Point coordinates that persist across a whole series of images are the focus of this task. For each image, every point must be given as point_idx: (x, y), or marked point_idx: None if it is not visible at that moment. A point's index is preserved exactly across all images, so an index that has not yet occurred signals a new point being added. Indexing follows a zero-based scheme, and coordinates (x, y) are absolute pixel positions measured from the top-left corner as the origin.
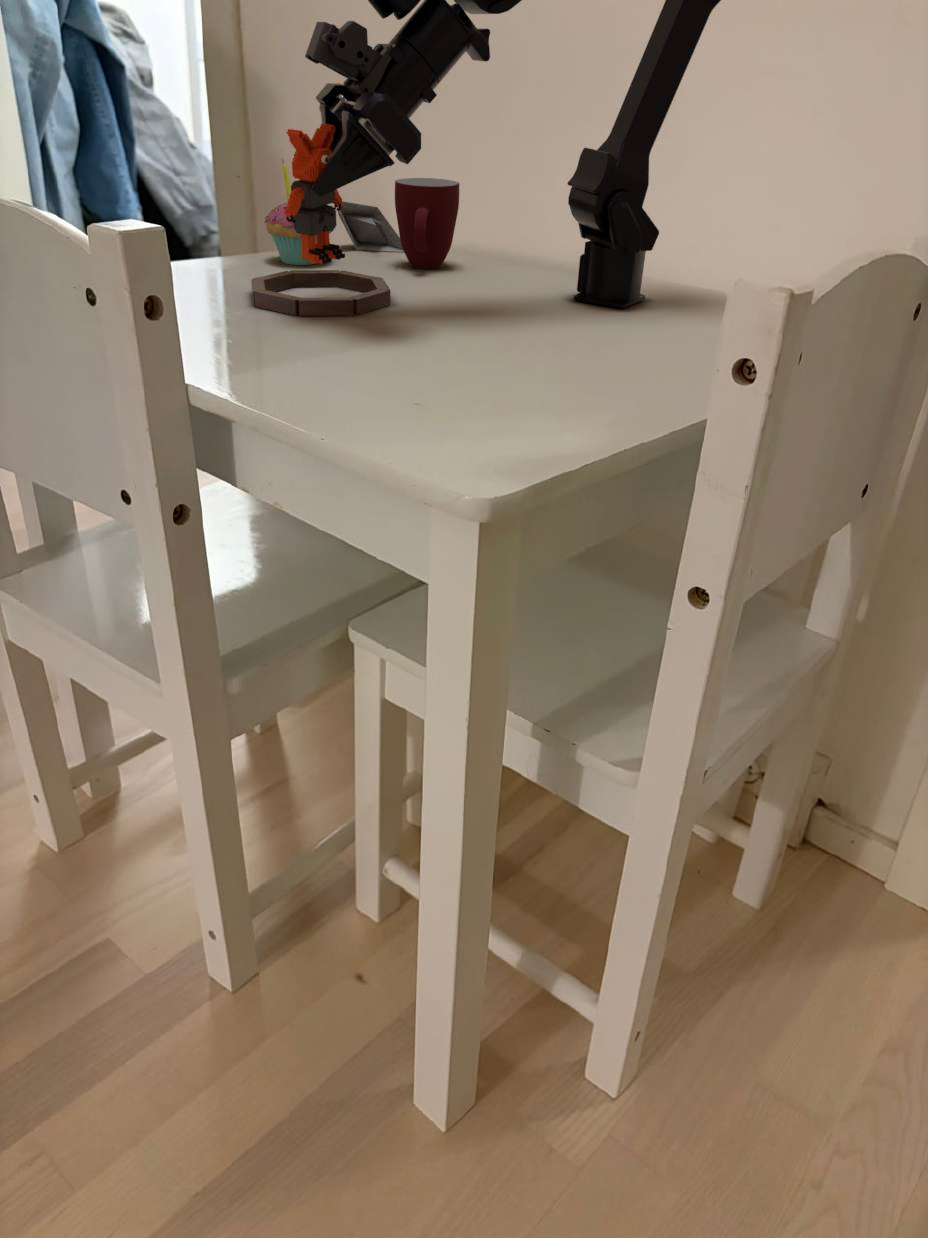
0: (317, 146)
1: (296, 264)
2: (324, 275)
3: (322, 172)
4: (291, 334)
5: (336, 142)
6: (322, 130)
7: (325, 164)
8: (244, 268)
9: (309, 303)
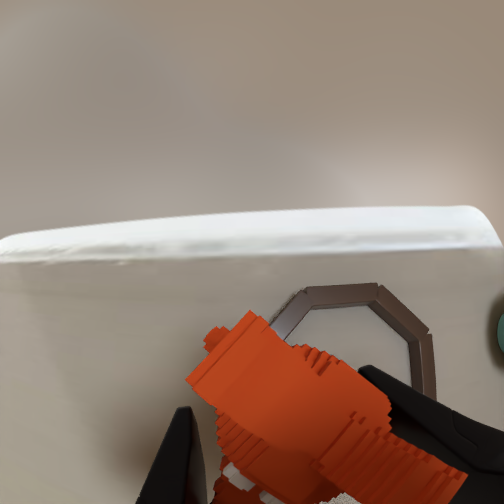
0: (315, 458)
1: (497, 331)
2: (420, 383)
3: (165, 447)
4: (145, 340)
5: None
6: (396, 490)
7: (180, 467)
8: (477, 271)
9: None
